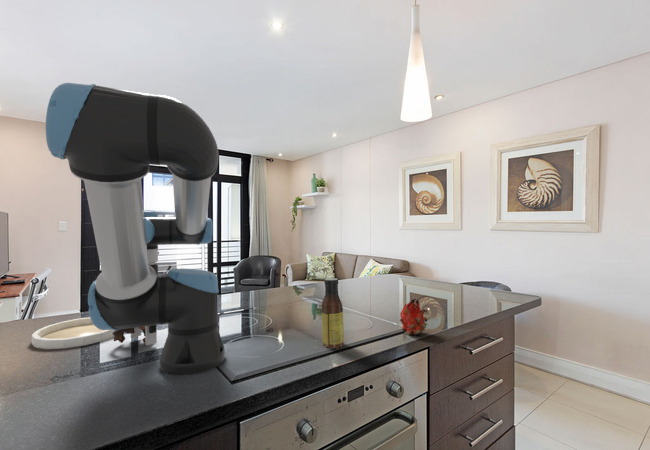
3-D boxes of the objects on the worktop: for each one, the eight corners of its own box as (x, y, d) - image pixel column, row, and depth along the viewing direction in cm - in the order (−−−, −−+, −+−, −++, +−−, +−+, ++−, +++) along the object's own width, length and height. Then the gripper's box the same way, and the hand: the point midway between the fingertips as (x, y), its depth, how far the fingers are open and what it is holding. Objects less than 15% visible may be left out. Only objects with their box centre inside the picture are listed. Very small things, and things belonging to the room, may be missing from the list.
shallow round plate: (134, 333, 101) (134, 325, 101) (43, 356, 84) (43, 346, 84) (108, 319, 115) (108, 312, 115) (25, 337, 97) (25, 328, 97)
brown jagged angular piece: (141, 351, 85) (124, 326, 84) (117, 363, 88) (100, 339, 87) (169, 328, 97) (154, 306, 96) (147, 339, 99) (132, 317, 98)
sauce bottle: (346, 345, 93) (347, 278, 93) (338, 353, 87) (339, 281, 87) (326, 341, 95) (327, 276, 95) (317, 348, 90) (318, 279, 90)
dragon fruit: (408, 342, 95) (409, 303, 95) (394, 333, 103) (394, 296, 103) (432, 339, 98) (432, 300, 98) (416, 330, 106) (416, 294, 106)
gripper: (175, 265, 89) (174, 344, 88) (141, 260, 102) (140, 329, 102) (146, 267, 83) (146, 353, 82) (114, 262, 96) (114, 335, 96)
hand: (143, 339), depth 92 cm, fingers closed on brown jagged angular piece, 9 cm apart
